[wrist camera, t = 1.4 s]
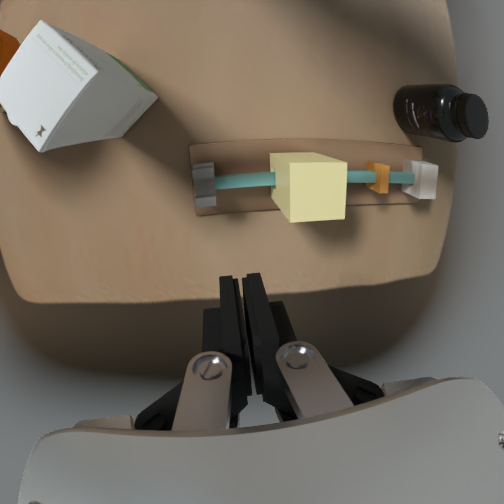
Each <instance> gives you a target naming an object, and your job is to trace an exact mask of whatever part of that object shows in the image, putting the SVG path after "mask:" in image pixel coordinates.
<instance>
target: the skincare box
mask: <svg viewBox="0 0 504 504" xmlns="http://www.w3.org/2000/svg"><path fill="white" fill-rule="evenodd" d="M157 99H158V96H157V95H156V94H155V93H154V92H153V91H152V90H151V89H150V88H149V87H148V86H147V85H145V84H144V83H143V82H142V81H141V80H140V79H139V78H138V77H137V76H136V75H135V74H133V73H132V72H131V71H130V70H129V69H128V68H127V67H126V66H125V65H123V64H122V63H121V62H120V61H119V60H118V59H117V58H115V57H114V56H112V55H110V54H108V53H107V52H105V51H103V50H101V49H99V48H98V47H96V46H94V45H92V44H90V43H88V42H86V41H84V40H82V39H80V38H78V37H76V36H74V35H72V34H70V33H68V32H66V31H64V30H62V29H60V28H58V27H55V26H53V25H51V24H49V23H46V22H44V21H43V20H40V21H39V22H38V24H37V25H36V26H35V27H34V28H33V30H32V31H31V32H30V34H29V35H28V36H27V38H26V39H25V40H24V42H23V43H22V45H21V46H20V47H19V49H18V50H17V52H16V53H15V55H14V56H13V58H12V59H11V61H10V62H9V64H8V65H7V67H6V68H5V70H4V72H3V73H2V75H1V77H0V104H1V105H2V107H3V108H4V109H5V111H6V112H7V116H8V119H9V121H10V122H11V123H12V124H13V125H15V126H18V127H19V129H20V130H21V131H22V132H23V134H24V135H25V136H26V137H27V139H28V140H29V141H30V142H31V143H32V144H33V146H34V147H35V148H36V149H37V150H38V152H45V151H47V150H50V149H54V148H59V147H63V146H69V145H74V144H79V143H85V142H91V141H97V140H104V139H111V138H119V137H122V136H123V135H124V134H125V133H126V132H127V130H128V129H129V128H130V127H131V126H132V125H133V124H134V123H135V122H136V121H137V120H138V118H139V117H140V116H141V115H142V114H143V113H144V112H145V111H146V110H147V109H148V108H149V107H150V106H151V105H152V104H153V103H154V102H155V101H156V100H157Z"/></svg>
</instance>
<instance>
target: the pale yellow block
mask: <svg viewBox="0 0 504 504" xmlns="http://www.w3.org/2000/svg"><path fill="white" fill-rule="evenodd" d="M270 172H275V173H276V185H271V198H272V199H273V201H274V202H275V203H276V205H277V206H278V207H279V209H280V210H281V211H282V213H283V214H284V215H285V217H286V218H287V219H288V221H289V222H290V223H294V222H307V221H322V220H337V219H345V205H346V187H347V162H344V161H341V160H338V159H334V158H331V157H328V156H325V155H321V154H318V153H314V152H294V153H270Z"/></svg>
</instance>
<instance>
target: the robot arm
mask: <svg viewBox="0 0 504 504" xmlns="http://www.w3.org/2000/svg"><path fill="white" fill-rule="evenodd" d="M219 282H220V306H221V307H220V308H209V309H204V311H203V342H202V353H200V354H198V355H197V356H195V357H194V358H193V359H192V360H191V361H190V362H189V364H188V367H187V371H186V375H185V379H184V380H183V381H182V382H181V383H179V384H178V385H177V386H175V387H174V388H173V389H172V390H170V391H169V392H167V393H166V394H165V395H163V396H162V397H161V398H159V399H158V400H157V401H155V402H154V403H153V404H152V405H150V406H149V407H147V408H146V409H144V410H143V411H142V412H141V413H140V414H139V415H138V416H137V417H131V416H130V415H125V416H117V417H109V418H99V419H87V420H82V421H79V422H78V423H76V424H75V425H74V427H72V428H66V429H60V430H56V431H53V432H50V433H47V434H45V435H44V436H42V437H41V438H40V439H39V440H38V441H37V443H36V444H35V445H34V447H33V449H32V451H31V454H30V456H29V459H28V461H27V465H26V467H25V471H24V475H23V479H22V483H21V488H20V494H19V499H18V504H504V406H503V405H502V403H501V402H500V401H499V400H498V398H497V397H496V396H495V395H494V394H493V392H492V391H491V390H490V389H489V388H488V387H487V386H486V385H485V384H483V383H482V382H481V381H479V380H478V379H475V378H472V377H461V376H460V377H447V378H442V379H435V378H432V377H422V378H416V379H409V380H402V381H394V382H386V383H383V385H382V386H378V385H376V384H374V383H373V382H371V381H368V380H365V379H362V378H360V377H357V376H354V375H352V374H349V373H347V372H344V371H341V370H339V369H337V368H334V367H331V366H329V365H327V364H326V362H325V361H324V359H323V358H322V356H321V355H320V353H319V352H318V350H317V349H316V348H315V347H314V346H312V345H310V344H308V343H305V342H298V341H297V339H296V336H295V334H294V331H293V328H292V325H291V323H290V320H289V317H288V315H287V312H286V309H285V306H284V304H283V302H282V301H276V302H268V298H267V295H266V292H265V288H264V285H263V282H262V278H261V275H260V273H252V274H247V277H246V278H242V286H243V299H244V311H245V322H244V316H243V309H242V303H241V296H240V290H239V283H238V278H236V279H233V278H232V275H231V276H221V277H219ZM245 323H246V328H245ZM246 333H247V335H246ZM247 340H248V342H247ZM248 346H249V352H250V358H251V364H252V370H253V376H254V381H255V388H256V393H257V395H259V394H262V396H263V401H265V402H266V403H268V404H270V405H272V406H274V407H275V412H276V414H277V417H278V419H279V422H280V423H274V424H267V425H259V426H252V427H242V428H239V425H240V411H241V410H242V409H244V408H245V407H246V405H248V401H247V396H251V395H252V387H251V376H250V365H249V352H248Z"/></svg>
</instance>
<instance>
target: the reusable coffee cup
mask: <svg viewBox="0 0 504 504" xmlns="http://www.w3.org/2000/svg"><path fill="white" fill-rule="evenodd" d="M20 46H21V44H19V42H18V40H17V39H16V38H15V37H13V36H11V35H9V34H8V33H6V32H4V31H2V30H0V77H1V75H2V73H3V72H4V70H5V68H6V67H7V65H8V64H9V62H10V61H11V59H12V58H13V56H14V55H15V53H16V52H17V50H18V49H19V47H20ZM4 111H5V109H4V108H3V107H2V105H1V104H0V112H4Z"/></svg>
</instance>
